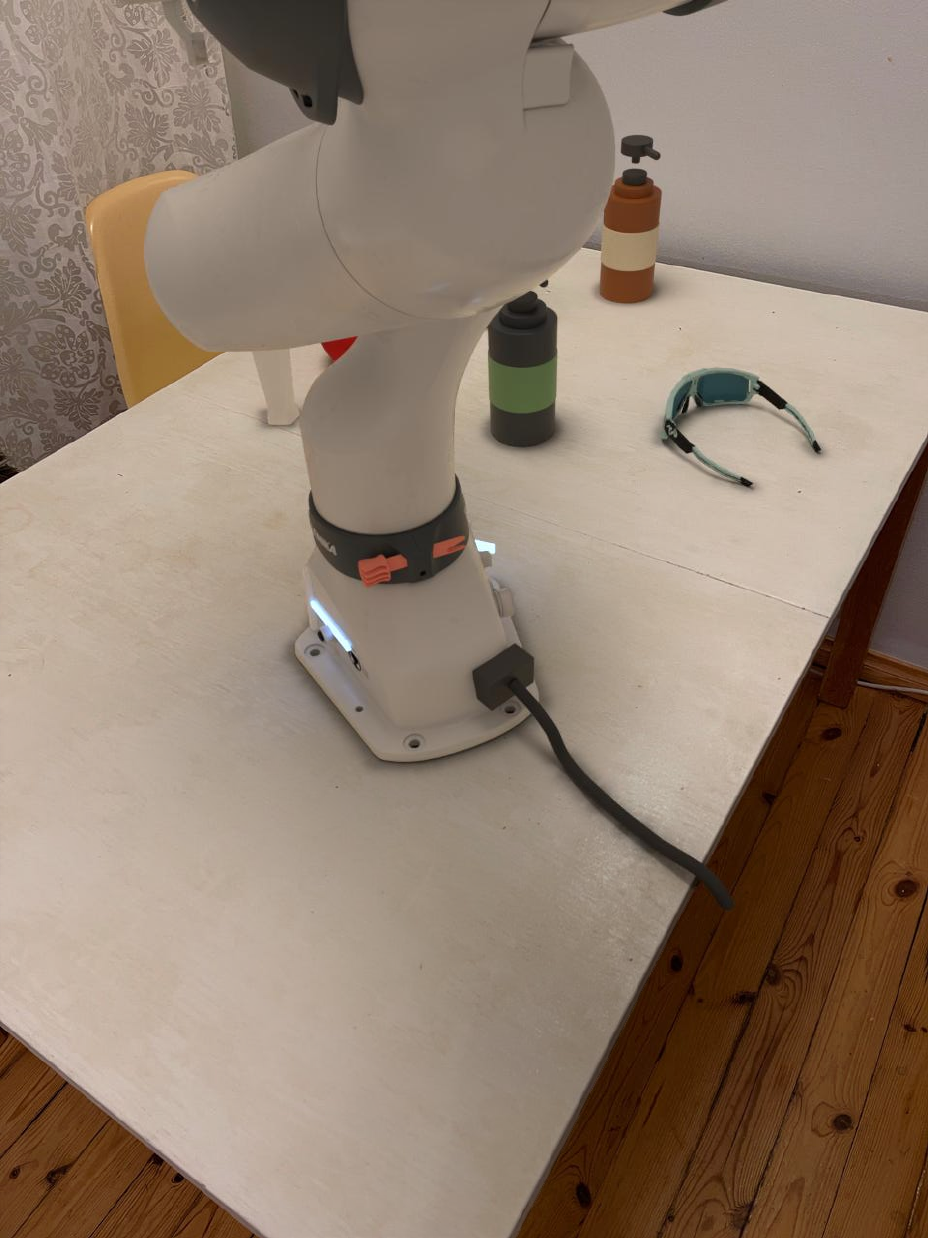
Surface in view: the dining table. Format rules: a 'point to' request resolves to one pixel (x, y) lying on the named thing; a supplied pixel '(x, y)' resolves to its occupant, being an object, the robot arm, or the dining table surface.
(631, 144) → the dark grey pump head
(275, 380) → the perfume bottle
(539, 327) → the dark grey pump bottle
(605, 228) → the amber bottle
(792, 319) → the dining table surface
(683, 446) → the sunglasses
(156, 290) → the robot arm
